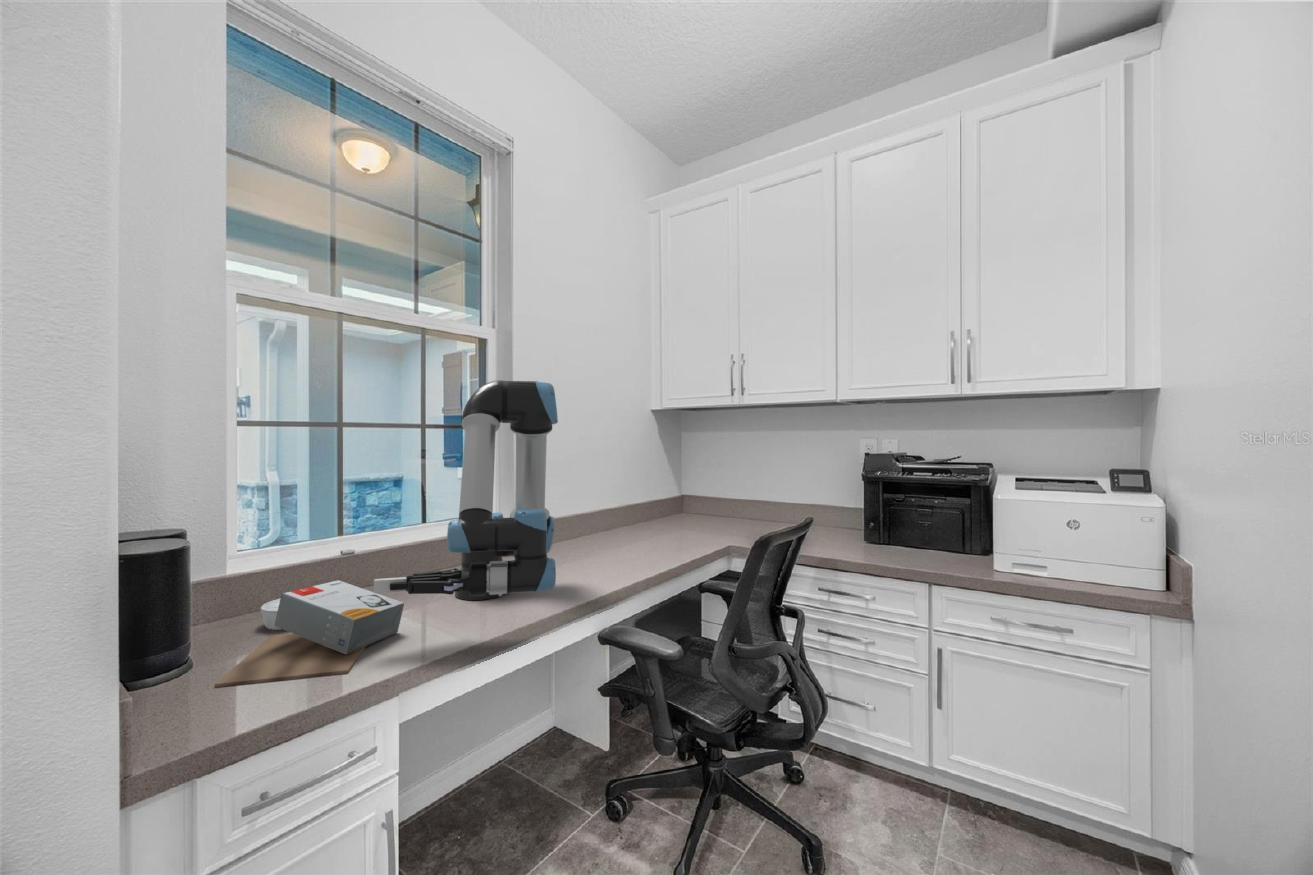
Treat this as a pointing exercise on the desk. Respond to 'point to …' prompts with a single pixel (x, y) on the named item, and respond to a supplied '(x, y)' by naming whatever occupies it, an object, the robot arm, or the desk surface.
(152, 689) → the desk surface
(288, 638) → the walnut board
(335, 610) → the hard drive box
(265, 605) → the ramekin
